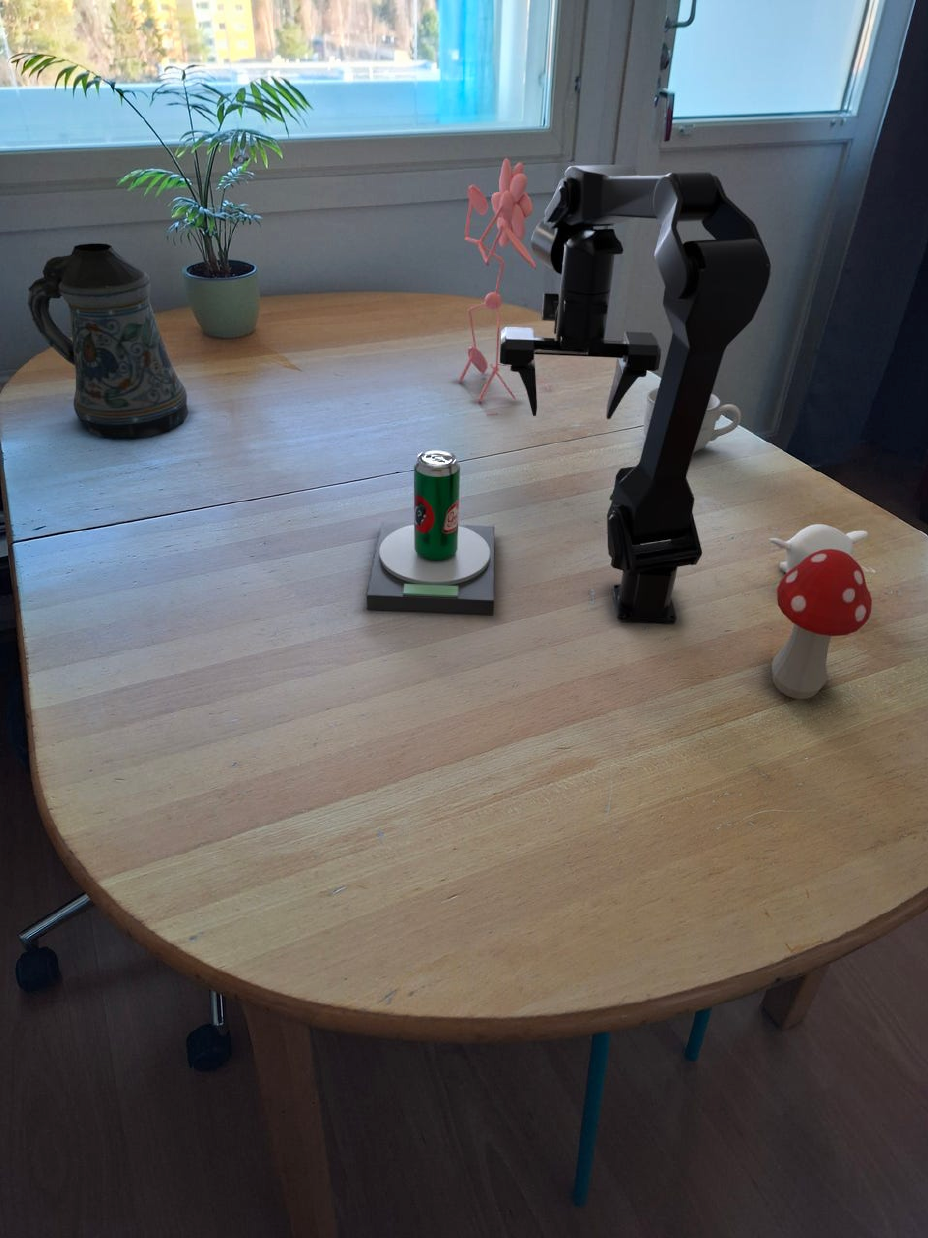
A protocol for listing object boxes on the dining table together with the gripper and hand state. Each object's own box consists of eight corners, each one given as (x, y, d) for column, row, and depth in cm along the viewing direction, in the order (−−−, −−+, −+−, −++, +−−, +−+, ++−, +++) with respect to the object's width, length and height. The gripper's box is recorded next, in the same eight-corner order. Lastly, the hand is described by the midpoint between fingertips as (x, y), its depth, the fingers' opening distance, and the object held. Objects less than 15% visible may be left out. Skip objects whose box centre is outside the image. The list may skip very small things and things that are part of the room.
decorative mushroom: (758, 642, 94) (794, 521, 85) (841, 662, 92) (887, 540, 83) (747, 698, 87) (785, 572, 78) (838, 722, 84) (888, 595, 75)
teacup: (629, 451, 131) (637, 400, 126) (651, 425, 139) (660, 376, 134) (720, 473, 126) (732, 421, 121) (738, 445, 134) (750, 395, 129)
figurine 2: (742, 587, 106) (788, 610, 96) (746, 519, 103) (793, 536, 94) (831, 579, 108) (884, 600, 98) (837, 512, 105) (893, 527, 96)
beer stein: (197, 432, 132) (168, 258, 117) (58, 450, 125) (10, 269, 111) (182, 392, 144) (155, 229, 129) (56, 406, 138) (12, 237, 123)
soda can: (452, 566, 100) (455, 471, 92) (409, 560, 100) (408, 465, 93) (461, 543, 104) (464, 450, 96) (420, 537, 104) (420, 445, 97)
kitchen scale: (493, 615, 97) (494, 596, 95) (367, 609, 97) (366, 590, 95) (493, 539, 109) (494, 521, 108) (382, 535, 110) (381, 517, 108)
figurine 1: (492, 423, 138) (506, 178, 117) (438, 365, 157) (442, 147, 136) (579, 412, 142) (608, 175, 121) (516, 357, 162) (532, 144, 141)
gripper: (656, 271, 106) (637, 394, 115) (503, 265, 106) (496, 388, 115) (671, 298, 97) (649, 429, 106) (503, 292, 97) (496, 423, 106)
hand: (571, 416), depth 109 cm, fingers open, 9 cm apart
